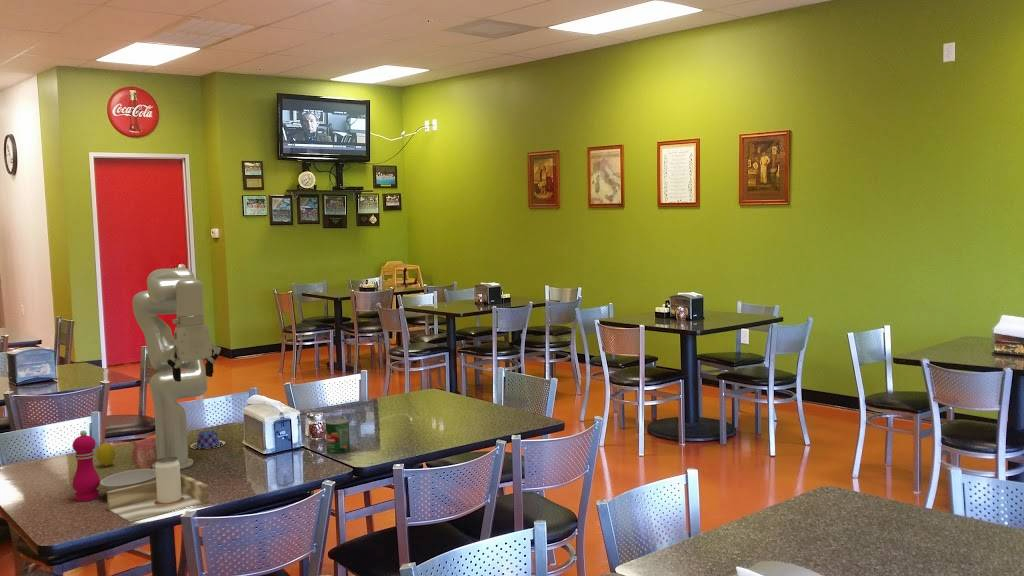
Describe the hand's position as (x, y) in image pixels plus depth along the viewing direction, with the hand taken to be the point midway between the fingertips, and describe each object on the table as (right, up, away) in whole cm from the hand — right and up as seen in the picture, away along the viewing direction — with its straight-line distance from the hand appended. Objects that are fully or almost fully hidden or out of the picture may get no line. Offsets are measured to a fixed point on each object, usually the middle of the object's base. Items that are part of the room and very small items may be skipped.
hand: (193, 378), depth 256 cm
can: (-3, -34, -10) cm, 35 cm away
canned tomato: (+35, -30, +40) cm, 61 cm away
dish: (-18, -34, -1) cm, 39 cm away
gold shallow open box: (-5, -35, -13) cm, 37 cm away
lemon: (-39, -32, +29) cm, 59 cm away
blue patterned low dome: (-15, -30, +53) cm, 63 cm away
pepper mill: (-29, -35, -4) cm, 46 cm away
